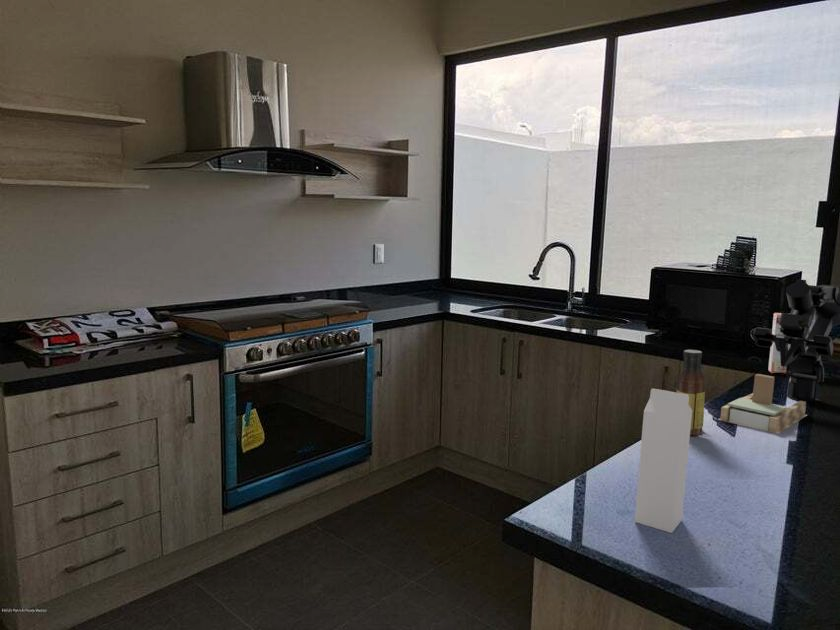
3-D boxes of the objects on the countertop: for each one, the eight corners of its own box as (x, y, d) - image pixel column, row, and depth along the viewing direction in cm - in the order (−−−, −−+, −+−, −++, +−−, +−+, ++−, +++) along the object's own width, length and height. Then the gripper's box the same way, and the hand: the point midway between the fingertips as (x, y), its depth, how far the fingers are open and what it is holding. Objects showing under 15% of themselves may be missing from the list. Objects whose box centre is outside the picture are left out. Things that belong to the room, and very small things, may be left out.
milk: (645, 510, 109) (656, 384, 106) (682, 520, 105) (694, 391, 102) (634, 522, 104) (644, 391, 101) (672, 534, 100) (684, 398, 97)
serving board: (750, 406, 177) (752, 391, 177) (807, 417, 167) (809, 402, 167) (717, 422, 161) (718, 406, 160) (777, 436, 151) (779, 419, 150)
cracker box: (812, 374, 221) (819, 314, 218) (816, 378, 215) (824, 317, 213) (767, 370, 226) (773, 311, 223) (770, 373, 220) (777, 313, 217)
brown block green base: (740, 399, 166) (743, 371, 165) (786, 409, 158) (789, 379, 157) (727, 405, 160) (730, 376, 159) (774, 415, 152) (777, 384, 151)
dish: (742, 414, 166) (743, 402, 165) (780, 422, 159) (781, 410, 159) (729, 421, 159) (730, 408, 159) (768, 430, 153) (769, 417, 153)
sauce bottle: (697, 429, 155) (704, 349, 152) (706, 437, 148) (714, 354, 146) (669, 427, 155) (676, 347, 152) (677, 435, 149) (684, 352, 146)
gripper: (758, 298, 178) (740, 342, 172) (835, 306, 165) (818, 353, 159) (765, 324, 184) (747, 366, 178) (840, 333, 171) (823, 379, 165)
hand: (782, 365), depth 170 cm, fingers closed
